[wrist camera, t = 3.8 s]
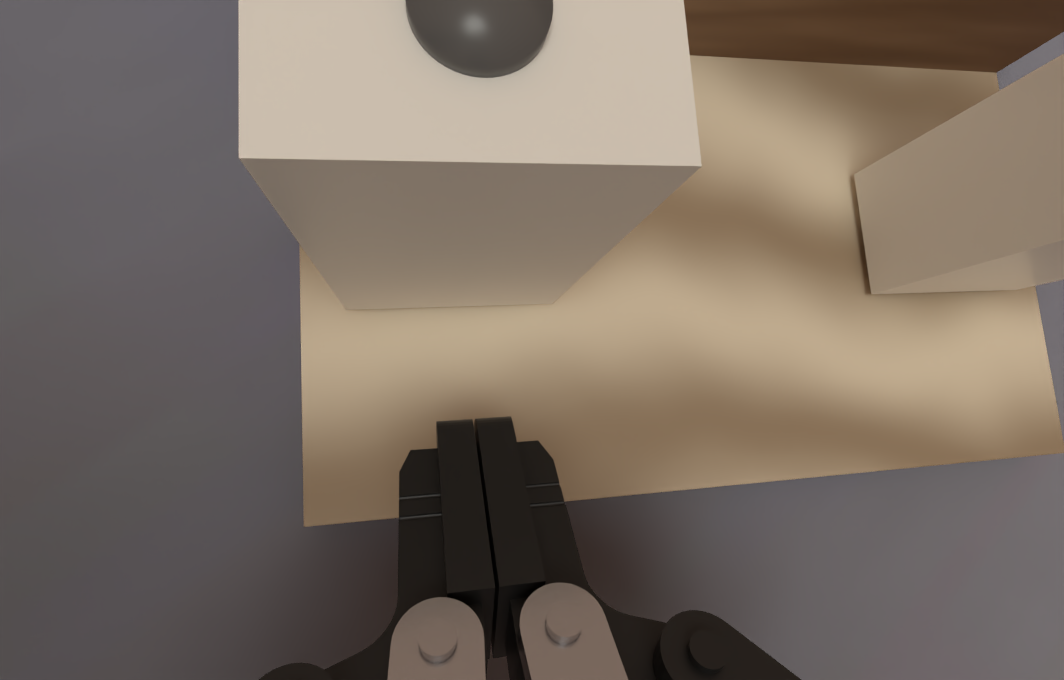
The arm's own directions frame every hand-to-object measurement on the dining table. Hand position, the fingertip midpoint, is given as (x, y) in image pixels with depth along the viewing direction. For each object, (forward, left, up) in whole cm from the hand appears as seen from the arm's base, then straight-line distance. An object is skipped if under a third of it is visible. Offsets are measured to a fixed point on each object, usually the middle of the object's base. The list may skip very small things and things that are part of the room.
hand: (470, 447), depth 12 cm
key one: (+4, +4, -4) cm, 7 cm away
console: (+9, -2, -5) cm, 11 cm away
